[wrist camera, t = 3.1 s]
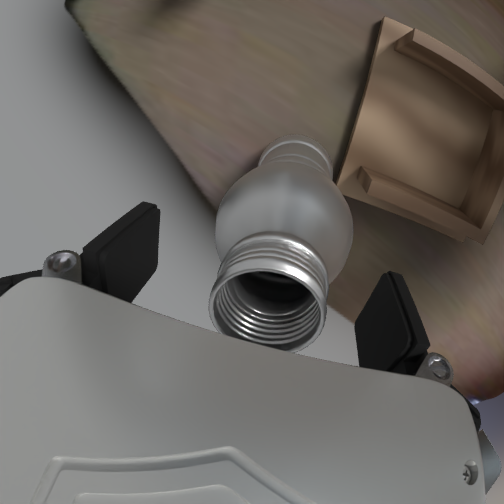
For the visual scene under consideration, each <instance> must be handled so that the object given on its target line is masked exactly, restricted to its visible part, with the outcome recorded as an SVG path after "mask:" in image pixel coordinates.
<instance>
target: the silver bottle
mask: <svg viewBox="0 0 504 504" xmlns="http://www.w3.org/2000/svg"><path fill="white" fill-rule="evenodd" d="M332 179H333V167H332V162H331V159H330V156H329V154H328V153H327V151H326V150H325V148H324V147H323V146H322V145H321V144H320V143H318V142H317V141H315V140H314V139H312V138H310V137H307V136H303V135H286V136H283V137H280V138H278V139H276V140H275V141H273V142H272V143H270V144H269V145H268V146H267V148H266V149H265V150H264V152H263V153H262V155H261V157H260V160H259V163H258V167H257V168H255V169H252V170H251V171H249V172H248V173H247V174H245V175H244V176H243V177H241V178H240V179H239V180H237V181H236V182H235V183H234V184H233V185H232V187H231V188H230V189H229V190H228V191H227V192H226V194H225V196H224V198H223V200H222V201H221V203H220V206H219V210H218V213H217V218H216V230H215V241H216V249H217V252H218V255H219V258H220V260H221V262H222V263H221V265H220V268H219V271H218V278H217V280H216V282H215V284H214V286H213V288H212V291H211V294H210V299H209V314H210V318H211V320H212V323H213V325H214V327H215V328H216V329H217V331H218V332H219V333H220V334H223V335H227V336H230V337H233V338H237V339H240V340H244V341H248V342H251V343H255V344H259V345H262V346H266V347H270V348H274V349H278V350H282V351H286V352H291V353H295V352H298V351H300V350H302V349H304V348H306V347H308V346H309V345H310V344H311V343H313V342H314V341H315V340H316V338H317V337H318V336H319V335H320V333H321V331H322V329H323V327H324V322H325V319H326V313H327V307H326V300H327V297H328V292H329V284H330V283H331V282H332V281H333V280H334V279H335V278H336V277H337V276H338V275H339V273H340V271H341V270H342V268H343V267H344V265H345V263H346V260H347V257H348V254H349V251H350V248H351V245H352V239H353V232H354V231H353V219H352V215H351V212H350V209H349V205H348V204H347V202H346V200H345V198H344V197H343V195H342V193H341V192H340V190H339V188H338V187H337V186H336V185H335V184H334V182H333V181H332Z"/></svg>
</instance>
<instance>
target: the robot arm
mask: <svg viewBox="0 0 504 504" xmlns="http://www.w3.org/2000/svg"><path fill="white" fill-rule="evenodd" d="M159 224H160V209H157V205H155V204H152V203H148V202H141V203H140V204H139V205H137V206H136V207H135V208H133V209H132V210H130V211H129V212H128V213H126V214H125V215H124V216H122V217H121V218H120V219H118V220H117V221H116V222H114V223H113V224H112V225H111V226H109V227H108V228H107V229H106V230H104V231H103V232H102V233H100V234H99V235H98V236H97V237H95V238H94V239H93V240H92V241H90V242H89V243H88V244H87V245H86V246H84V247H83V253H82V254H80V255H78V254H77V253H76V252H74V251H70V250H62V251H57V252H55V253H53V254H51V255H50V256H48V257H47V258H46V260H45V261H44V264H43V269H42V270H37V271H32V272H27V273H21V274H16V275H12V276H6V277H2V278H0V504H486V499H485V495H486V493H487V492H488V491H489V489H490V488H491V486H492V485H493V484H494V482H495V481H496V480H497V478H498V477H499V475H500V472H501V461H500V459H499V456H498V455H497V453H496V451H495V449H494V448H493V446H492V444H491V442H490V441H489V439H488V437H487V436H486V434H485V432H484V431H483V429H482V430H481V431H479V428H480V425H481V419H480V413H479V411H478V410H477V408H475V407H474V406H473V405H472V404H471V403H470V402H469V401H468V400H467V399H466V398H465V397H464V396H463V395H462V394H461V393H460V392H459V391H458V390H457V389H456V388H455V387H454V386H453V385H452V384H451V382H452V380H453V375H454V374H453V369H452V366H451V365H450V363H449V362H448V360H447V359H446V358H445V357H443V356H442V355H440V354H438V353H433V352H432V353H429V354H428V352H427V349H428V348H429V347H430V343H429V340H428V337H427V334H426V332H425V329H424V326H423V324H422V321H421V318H420V316H419V313H418V311H417V308H416V306H415V304H414V301H413V299H412V296H411V294H410V292H409V290H408V287H407V285H406V283H405V281H404V278H403V276H402V275H401V274H398V273H395V272H391V271H388V272H387V273H384V274H383V275H382V276H381V278H380V280H379V282H378V284H377V285H376V287H375V289H374V291H373V292H372V294H371V296H370V298H369V299H368V301H367V303H366V304H365V306H364V308H363V310H362V311H361V313H360V314H359V316H358V318H357V319H356V322H355V326H354V327H355V335H356V342H357V350H358V358H359V367H358V366H352V365H347V364H342V363H337V362H331V361H327V360H322V359H317V358H312V357H308V356H303V355H299V354H295V353H291V352H286V351H282V350H278V349H274V348H270V347H266V346H262V345H259V344H255V343H251V342H248V341H244V340H240V339H237V338H233V337H230V336H227V335H223V334H220V333H217V332H213V331H210V330H207V329H204V328H201V327H198V326H194V325H191V324H188V323H185V322H182V321H179V320H176V319H174V318H171V317H168V316H165V315H162V314H159V313H156V312H153V311H151V310H148V309H145V308H142V307H140V306H137V305H135V304H132V301H133V300H134V298H135V297H136V296H137V295H138V293H139V292H140V291H141V289H142V288H143V287H144V285H145V284H146V283H147V281H148V280H149V279H150V278H151V276H152V275H153V274H154V272H155V271H156V269H157V265H158V243H159Z"/></svg>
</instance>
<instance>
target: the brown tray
mask: <svg viewBox="0 0 504 504" xmlns="http://www.w3.org/2000/svg"><path fill="white" fill-rule="evenodd" d="M335 185H336V186H337V187H338V188H339V190H340V192H341V193H342V195H345V196H348V197H351V198H354V199H356V200H359V201H362V202H365V203H368V204H370V205H373V206H376V207H379V208H381V209H384V210H387V211H389V212H392V213H394V214H397V215H399V216H402V217H405V218H407V219H409V220H412V221H414V222H417V223H419V224H422V225H424V226H426V227H429V228H431V229H433V230H436V231H438V232H440V233H442V234H445V235H447V236H449V237H451V238H454V239H456V240H458V241H460V242H462V243H463V242H464V240H465V238H466V237H468V238H470V239H472V240H474V241H476V242H478V243H480V244H482V245H483V244H484V242H485V240H486V238H487V236H488V234H489V232H490V230H491V228H492V226H493V224H494V222H495V219H496V217H497V215H498V213H499V211H500V208H501V206H502V204H503V201H504V86H503V85H502V84H501V83H499V82H498V81H497V80H496V79H494V78H493V77H492V76H491V75H489V74H488V73H487V72H485V71H484V70H483V69H481V68H480V67H479V66H477V65H476V64H474V63H473V62H472V61H470V60H469V59H467V58H466V57H464V56H463V55H461V54H460V53H458V52H456V51H455V50H453V49H452V48H450V47H448V46H447V45H445V44H443V43H442V42H440V41H438V40H436V39H435V38H433V37H431V36H429V35H427V34H425V33H423V32H421V31H420V30H418V29H416V28H415V29H412V28H410V27H408V26H406V25H403V24H401V23H399V22H397V21H394V20H392V19H390V18H387V17H384V18H383V19H382V20H381V24H380V29H379V33H378V38H377V42H376V46H375V50H374V54H373V58H372V62H371V66H370V70H369V74H368V78H367V81H366V85H365V89H364V92H363V96H362V100H361V103H360V107H359V110H358V113H357V117H356V120H355V124H354V127H353V130H352V133H351V137H350V140H349V143H348V146H347V149H346V152H345V156H344V159H343V162H342V165H341V168H340V171H339V174H338V177H337V180H336V183H335Z"/></svg>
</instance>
